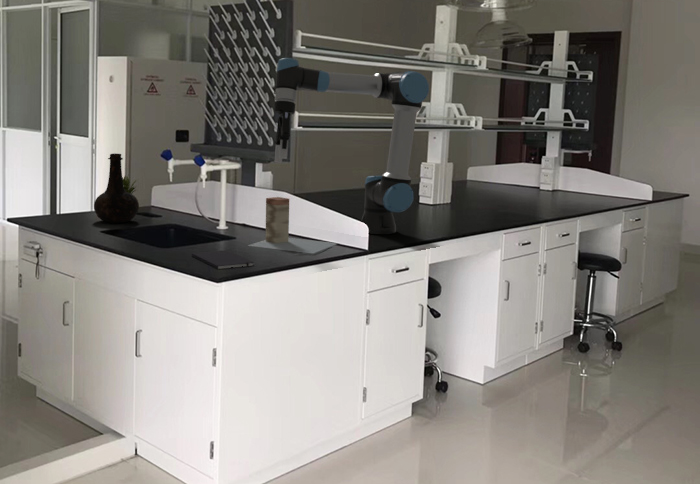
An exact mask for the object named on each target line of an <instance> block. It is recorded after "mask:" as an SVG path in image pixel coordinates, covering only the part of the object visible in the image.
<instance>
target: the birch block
mask: <svg viewBox="0 0 700 484" xmlns="http://www.w3.org/2000/svg"><path fill="white" fill-rule="evenodd" d="M289 226H290V198H287V197H281V196H280V197H279V196H276V197H266V198H265V239H264V240H265V241H268V242H272V243H283V242H288V238H290V237H289V234H290V233H289V231H290V227H289Z"/></svg>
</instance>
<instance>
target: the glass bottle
mask: <svg viewBox="0 0 700 484" xmlns="http://www.w3.org/2000/svg"><path fill="white" fill-rule="evenodd" d="M107 160H109V172H108V181H107V185H106V189H105V191H104V192H103V193H101V194H99V195H98V196H97V197H96V198H95V200H94V203H93V209H94V213H95V214H96V216H97V217H98V218H99V219H100V221H103V222H104V223H108V224H120V223H122V224H124V223H128V222H131V220H133V219H134V218H135V217H136V215H137V214H138V211H139V209H140V207H139V206H140V205H139V200H138V199H137V197H136V196H135V195H134V194H133V193H132V194H130V193H127V192H126V191H125V189H124V186H123V180H124V179H123V180H122V177H123V173H122V170H123V169H122V160H124V158H123V157H122V154H121V153H110V154H109V157H108V158H107Z"/></svg>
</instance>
